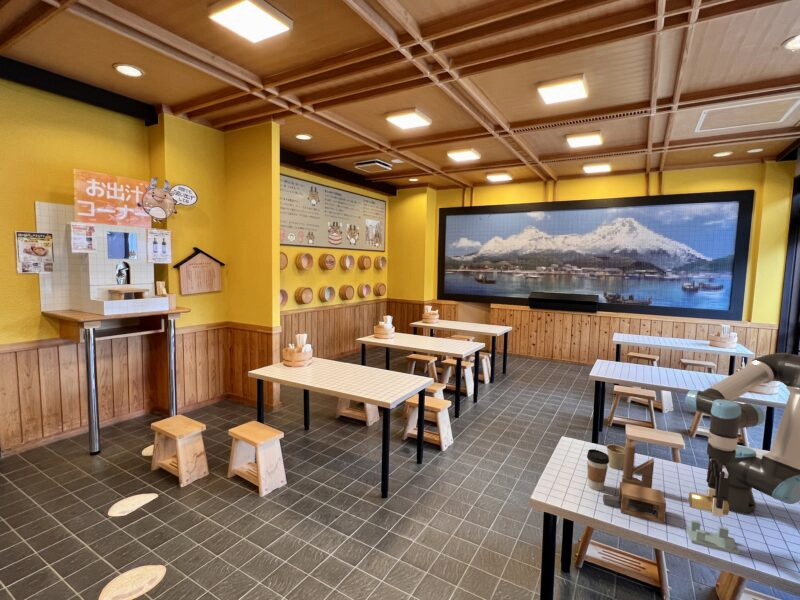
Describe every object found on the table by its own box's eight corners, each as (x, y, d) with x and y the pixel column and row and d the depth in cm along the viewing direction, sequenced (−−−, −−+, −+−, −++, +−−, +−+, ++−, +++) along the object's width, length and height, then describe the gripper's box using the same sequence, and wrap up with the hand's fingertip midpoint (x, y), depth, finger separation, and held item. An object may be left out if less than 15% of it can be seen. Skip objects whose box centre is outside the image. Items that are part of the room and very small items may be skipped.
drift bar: (650, 510, 155) (651, 502, 155) (653, 514, 152) (653, 507, 152) (602, 501, 160) (603, 494, 160) (604, 505, 157) (604, 498, 157)
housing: (658, 508, 155) (660, 490, 155) (664, 523, 147) (666, 503, 146) (618, 499, 161) (620, 481, 160) (621, 512, 152) (622, 493, 152)
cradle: (729, 539, 139) (731, 528, 139) (738, 554, 132) (740, 542, 131) (685, 528, 144) (686, 517, 144) (691, 542, 137) (692, 531, 136)
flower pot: (627, 465, 189) (629, 447, 189) (626, 473, 181) (628, 455, 181) (605, 459, 194) (607, 442, 194) (603, 467, 186) (605, 449, 186)
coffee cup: (587, 479, 176) (590, 446, 174) (608, 486, 170) (611, 453, 169) (582, 487, 169) (585, 453, 168) (604, 495, 164) (607, 460, 162)
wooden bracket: (651, 494, 166) (655, 452, 164) (621, 486, 171) (625, 445, 169) (650, 489, 169) (654, 449, 167) (621, 482, 174) (625, 442, 173)
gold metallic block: (722, 508, 138) (725, 496, 137) (727, 518, 134) (729, 506, 133) (687, 500, 142) (690, 488, 141) (691, 510, 138) (693, 498, 136)
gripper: (700, 433, 144) (693, 494, 147) (717, 455, 128) (709, 523, 130) (725, 438, 141) (718, 500, 144) (746, 460, 125) (737, 530, 127)
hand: (714, 511), depth 137 cm, fingers closed on gold metallic block, 5 cm apart
